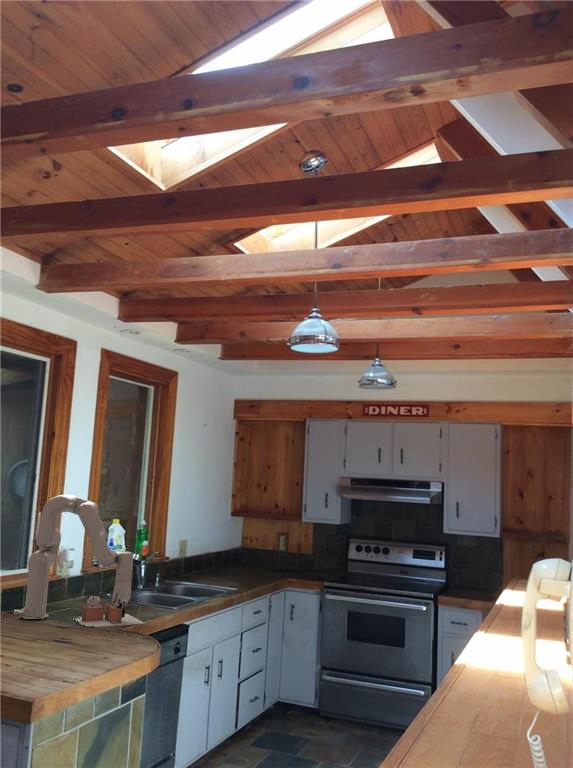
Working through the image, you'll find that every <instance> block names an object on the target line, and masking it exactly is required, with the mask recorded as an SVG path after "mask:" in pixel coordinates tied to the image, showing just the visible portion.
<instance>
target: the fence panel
mask: <svg viewBox="0 0 573 768" xmlns="http://www.w3.org/2000/svg"><path fill="white" fill-rule="evenodd" d="M108 608H109V611H108V619H109V620H112V621H115V622H117V623H121V620H122V608H117V607H116V606H115V607H114V606H112V605H110V606H108Z"/></svg>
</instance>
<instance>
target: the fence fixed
mask: <svg viewBox="0 0 573 768" xmlns="http://www.w3.org/2000/svg"><path fill="white" fill-rule="evenodd" d="M108 606H111V604H110V603H106V604H105V606H100V607H87V605H84V606H83V605H82V609H81V610H82V611H81V612H82V613H81V617H82V620H81V621H91V620H103V618H104V615H105V620H108V611H109V608H108Z"/></svg>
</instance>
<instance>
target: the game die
mask: <svg viewBox="0 0 573 768" xmlns="http://www.w3.org/2000/svg"><path fill="white" fill-rule="evenodd" d="M84 603H86V606H87V608H88V607H102V606H103V605H104V604H103V603H102V600H101V594H100V595H99V596H98V595H92V594H90V596H89V598H88V599H87V600H86V601H84Z"/></svg>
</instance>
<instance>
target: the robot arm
mask: <svg viewBox="0 0 573 768" xmlns="http://www.w3.org/2000/svg"><path fill="white" fill-rule="evenodd" d="M99 509H100V508H99V506H98V505H97V503H95V502H93V501H90V500H88V499H85V498H82V497H79V496H76V495H74V494H59V495H56V496H54V497H52V498H50V499H49V500H47V501H46V503H45V504H44V506H43V509H42V512H41V516H40V520H39V524H38V529H37V532H36V536H35V544H36V545H37V546H38V548H39V549H38V550H36V551H33V552H32V554H31V555H30V556H29V558H28V562H27V571H28V573H27V584H26V593H25V594H26V595H25V603H24V604H25V605H24V607H23V608H21V609H14V610H13V615H19V616H21V615H25V616H32V617H40V618H45V617H48V618H49V614H48V613H46V612H47V611H46V610H47V603H48V601H47V600H48V589H49V583H50V582H49V579H50V572H49V571H50V568H51V567H52V566H54V564H55V563H56V561H57V559H58V553H59V550H60V545H61V540H62V534H61V531H60V530H59V528H58V526H59V522H60V515H61V514H62V513H72V514H74V515H77V516H78V517H79V520H80V522H81V524H82V526H83V528H84V530H85V532H86V535H87V537H88V539H89V544H90V547H91V550H92V553H93V554H94V555H93V556H94V557H95V559H96V561H97V563H98V564H99V565H100V566H101V567H102V568H105V569H108V568H111V567H115V566H116V571H115V581H114V586H113V592H112V601H111V602H112V603H114V604H115V605H114V606H115V607H116V608H122V618H123V617H124V616H125V614H126V607H127V604H128V603H129V601H130V600H131V596H132V578H133V565H134V553H133V552H132V551H127V550H126V551H119V550H113V549H110V548H109V545H108V543H107V539H106V528H105V525H104V524H103V521H102V520H101V517H100V516H99V513H100V510H99Z"/></svg>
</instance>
